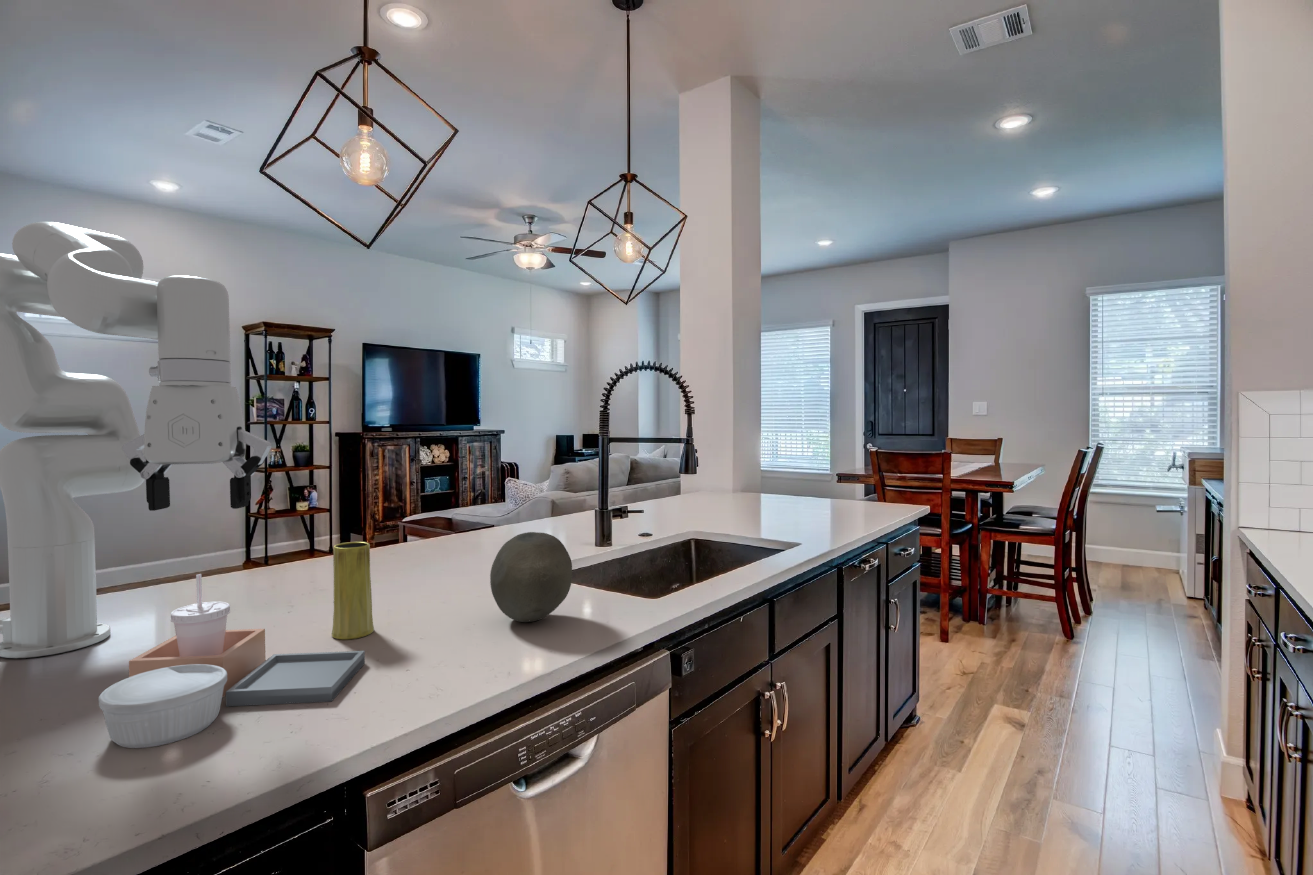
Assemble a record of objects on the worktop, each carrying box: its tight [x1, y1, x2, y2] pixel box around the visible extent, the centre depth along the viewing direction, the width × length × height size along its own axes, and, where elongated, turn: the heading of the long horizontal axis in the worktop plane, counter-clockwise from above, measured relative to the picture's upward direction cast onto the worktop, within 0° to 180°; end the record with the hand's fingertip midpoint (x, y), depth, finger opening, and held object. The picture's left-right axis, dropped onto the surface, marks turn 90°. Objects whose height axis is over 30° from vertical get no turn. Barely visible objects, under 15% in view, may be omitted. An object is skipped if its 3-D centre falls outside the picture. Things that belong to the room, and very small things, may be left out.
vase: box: [331, 541, 375, 641], centre depth 102 cm, size 6×6×14 cm
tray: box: [225, 650, 366, 707], centre depth 83 cm, size 12×12×2 cm
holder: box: [128, 628, 267, 698], centre depth 83 cm, size 11×11×5 cm
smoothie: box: [169, 573, 231, 657], centre depth 83 cm, size 6×6×14 cm
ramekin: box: [98, 664, 227, 749], centre depth 71 cm, size 11×11×5 cm
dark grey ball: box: [489, 531, 573, 623], centre depth 108 cm, size 14×14×15 cm
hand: (200, 508), depth 83 cm, fingers open, 9 cm apart
